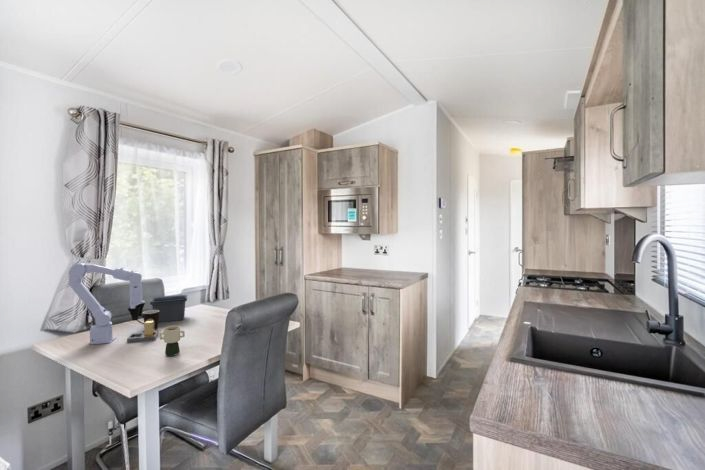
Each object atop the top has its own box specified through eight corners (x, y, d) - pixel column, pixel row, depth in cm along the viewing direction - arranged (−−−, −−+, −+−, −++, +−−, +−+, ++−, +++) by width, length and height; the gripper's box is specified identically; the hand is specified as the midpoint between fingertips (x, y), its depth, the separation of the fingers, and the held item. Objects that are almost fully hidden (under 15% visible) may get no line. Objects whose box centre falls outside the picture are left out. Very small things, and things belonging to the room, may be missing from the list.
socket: (127, 342, 186) (126, 338, 186) (132, 337, 194) (132, 333, 194) (154, 340, 190) (154, 336, 190) (158, 334, 198) (158, 330, 198)
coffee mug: (162, 326, 213) (162, 310, 213) (153, 330, 205) (153, 314, 204) (144, 325, 215) (144, 309, 214) (134, 330, 206) (134, 313, 206)
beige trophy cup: (185, 350, 175) (185, 324, 175) (184, 355, 169) (183, 329, 168) (161, 353, 172) (160, 327, 171) (158, 358, 165) (157, 331, 164)
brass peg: (144, 339, 190) (144, 323, 190) (146, 337, 194) (146, 321, 194) (152, 338, 192) (152, 322, 191) (154, 336, 195) (154, 320, 195)
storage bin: (149, 324, 217) (148, 301, 216) (152, 317, 231) (152, 296, 231) (187, 320, 225) (186, 298, 225) (188, 314, 240) (187, 293, 239)
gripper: (140, 296, 188) (141, 321, 189) (147, 290, 202) (148, 314, 202) (125, 297, 186) (126, 322, 186) (133, 291, 200) (134, 315, 200)
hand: (137, 318), depth 194 cm, fingers open, 7 cm apart
